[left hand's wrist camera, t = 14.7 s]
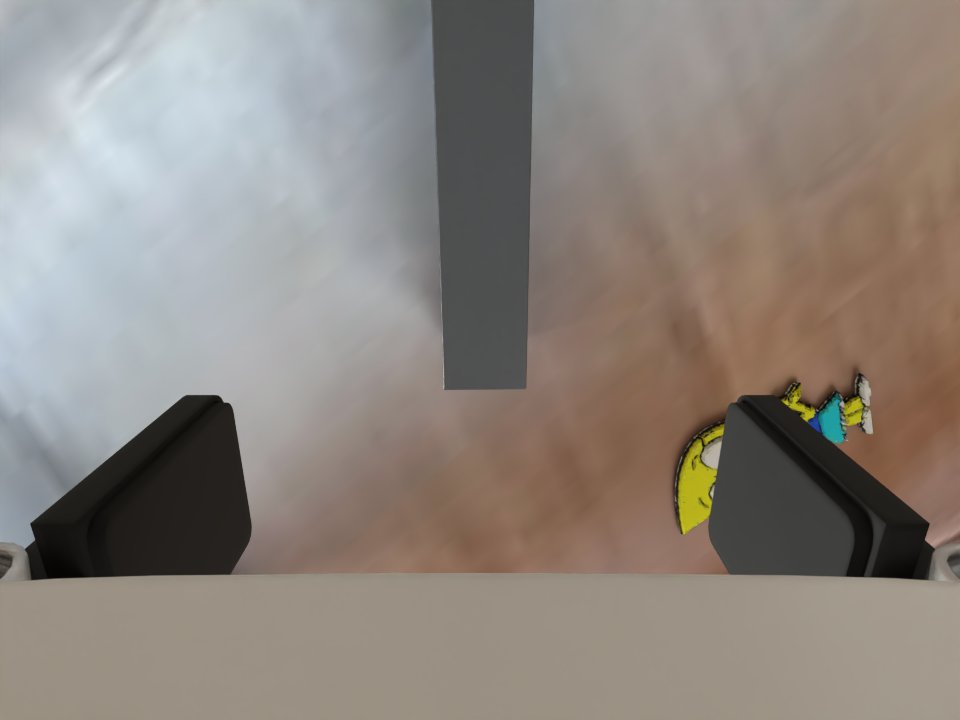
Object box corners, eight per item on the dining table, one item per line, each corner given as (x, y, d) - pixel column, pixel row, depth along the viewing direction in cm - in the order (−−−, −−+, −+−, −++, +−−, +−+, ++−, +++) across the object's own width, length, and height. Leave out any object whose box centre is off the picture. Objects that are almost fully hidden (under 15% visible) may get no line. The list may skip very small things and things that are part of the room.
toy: (882, 487, 43) (684, 540, 45) (875, 481, 44) (680, 533, 45) (869, 366, 40) (656, 429, 41) (861, 362, 40) (652, 423, 42)
